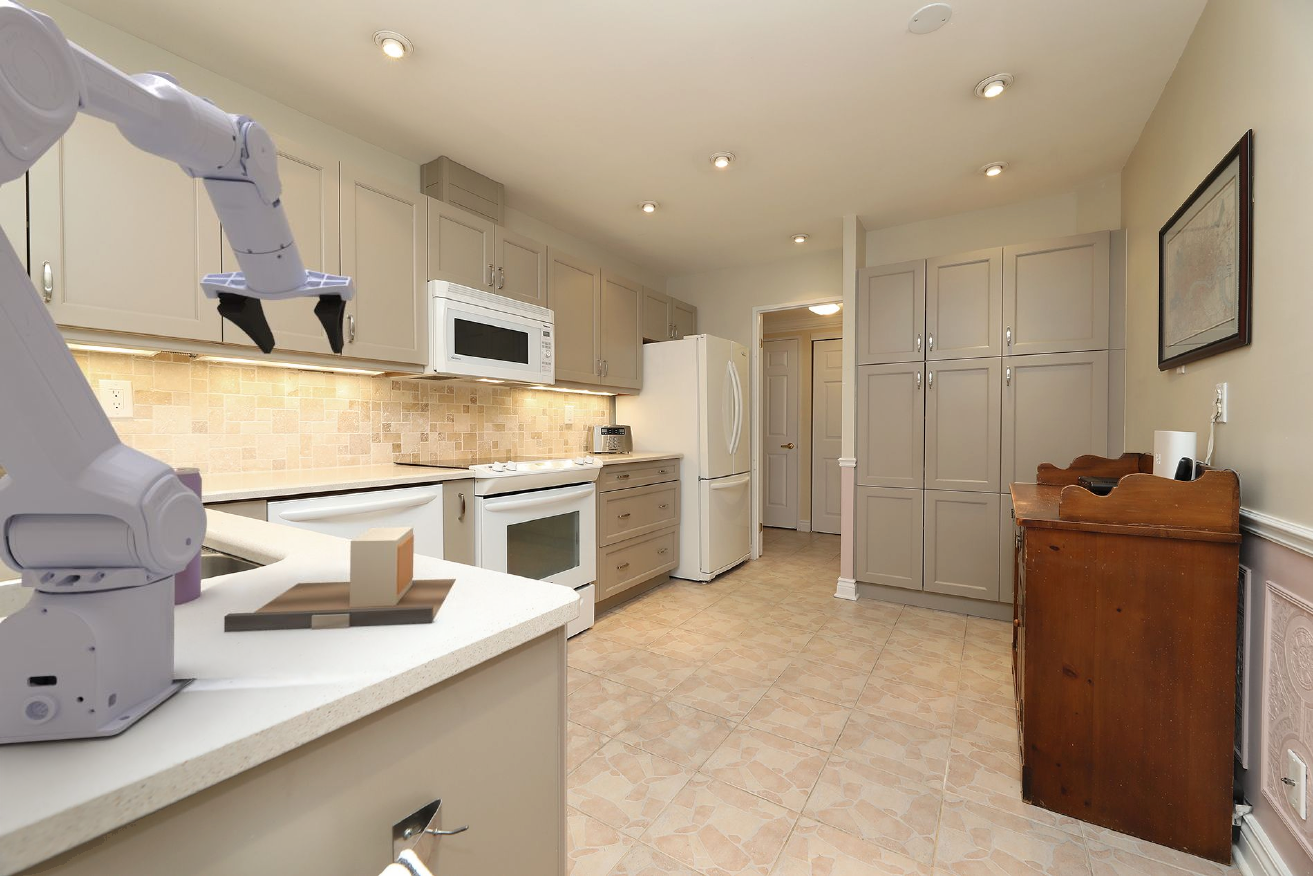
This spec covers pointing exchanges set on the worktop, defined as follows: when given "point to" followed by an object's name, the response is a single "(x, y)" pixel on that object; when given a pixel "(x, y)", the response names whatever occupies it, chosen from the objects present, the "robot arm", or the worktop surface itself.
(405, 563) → the product box
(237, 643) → the worktop surface
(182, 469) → the beverage can
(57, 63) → the robot arm
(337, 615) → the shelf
